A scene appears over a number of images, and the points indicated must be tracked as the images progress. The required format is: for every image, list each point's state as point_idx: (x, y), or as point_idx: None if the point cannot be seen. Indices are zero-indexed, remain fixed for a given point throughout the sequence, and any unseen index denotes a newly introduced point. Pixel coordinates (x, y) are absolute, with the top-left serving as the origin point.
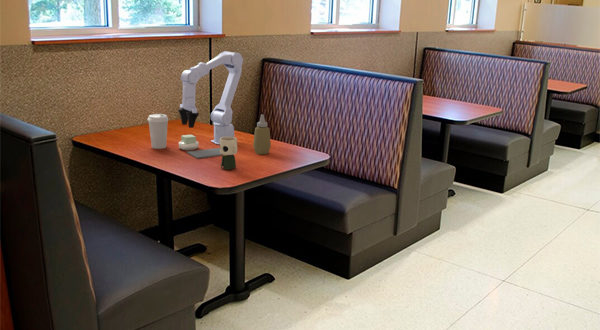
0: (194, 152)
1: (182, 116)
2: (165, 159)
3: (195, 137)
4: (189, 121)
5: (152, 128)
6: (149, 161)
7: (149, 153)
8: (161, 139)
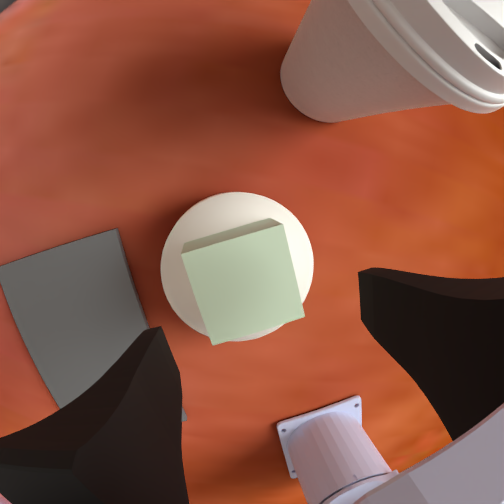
0: (91, 275)
1: (431, 311)
2: (24, 88)
3: (210, 338)
4: (105, 379)
5: None
6: (27, 18)
7: (180, 6)
8: (295, 61)
